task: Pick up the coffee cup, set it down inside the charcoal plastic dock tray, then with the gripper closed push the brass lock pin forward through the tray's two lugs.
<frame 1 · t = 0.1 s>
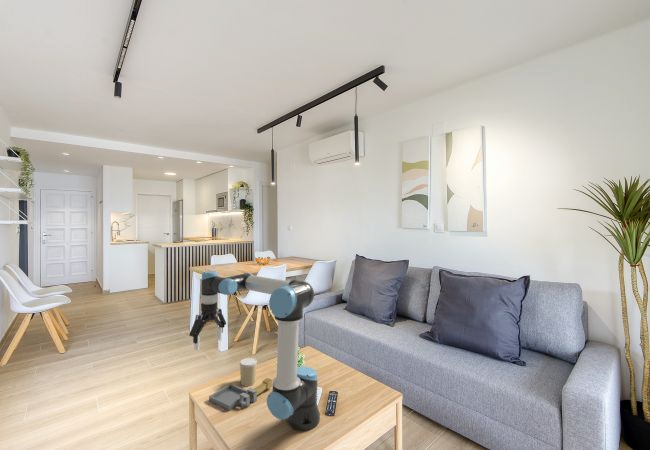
hand: (208, 344, 153), 28 cm above the table, fingers open, 13 cm apart
coffee cup: (248, 382, 170), on the table
lock pin: (260, 388, 160), point 3 cm above the table, slide at 0.0 cm
dock tray: (229, 398, 155), on the table
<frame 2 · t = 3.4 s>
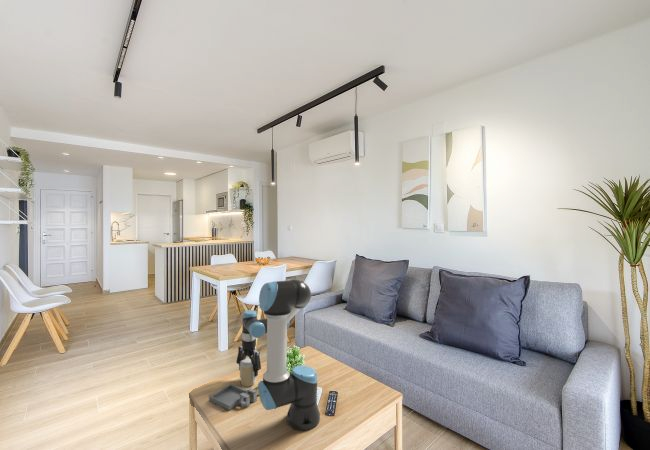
hand: (248, 379, 170), 2 cm above the table, fingers closed on coffee cup, 9 cm apart
coffee cup: (248, 382, 170), on the table, touching gripper
everything else where it was.
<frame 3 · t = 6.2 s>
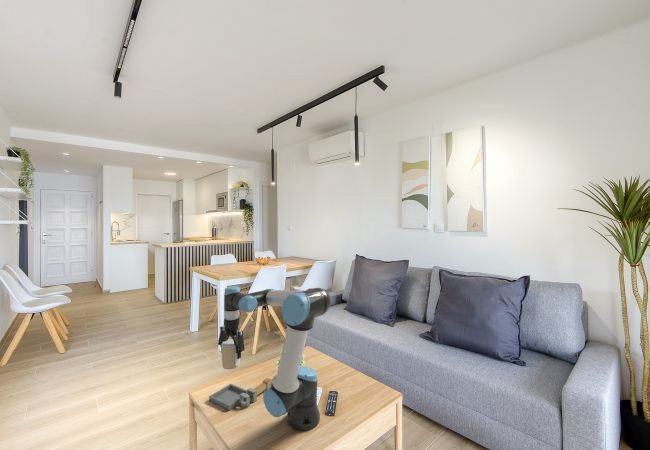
hand: (230, 361, 154), 19 cm above the table, fingers closed on coffee cup, 9 cm apart
coffee cup: (230, 366, 154), point 17 cm above the table, touching gripper
everything else where it was.
when the fingers open (5 cm above the table, at t = 9.2 s): coffee cup drops 2 cm, resting on dock tray.
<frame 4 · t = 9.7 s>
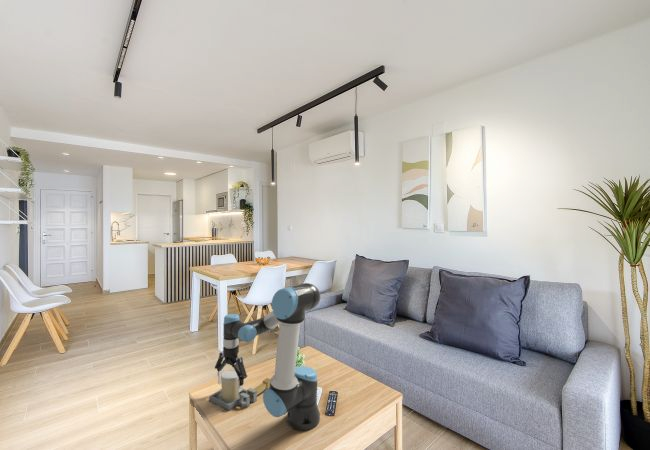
hand: (230, 387, 155), 6 cm above the table, fingers open, 13 cm apart
coffee cup: (230, 398, 155), resting on dock tray
everything else where it was.
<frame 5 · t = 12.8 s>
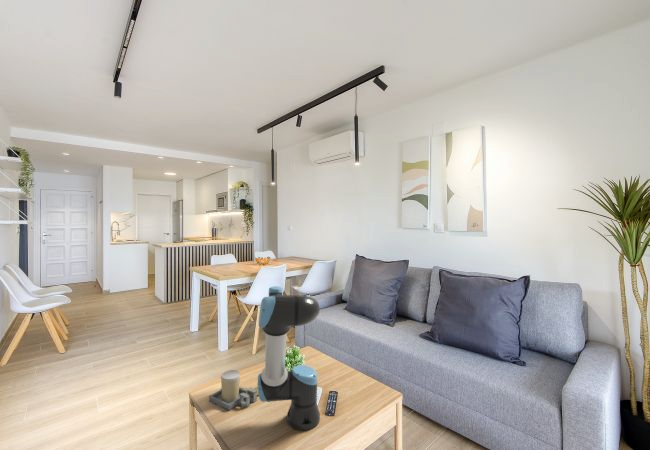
hand: (273, 356, 170), 15 cm above the table, fingers closed
nothing on the table moved.
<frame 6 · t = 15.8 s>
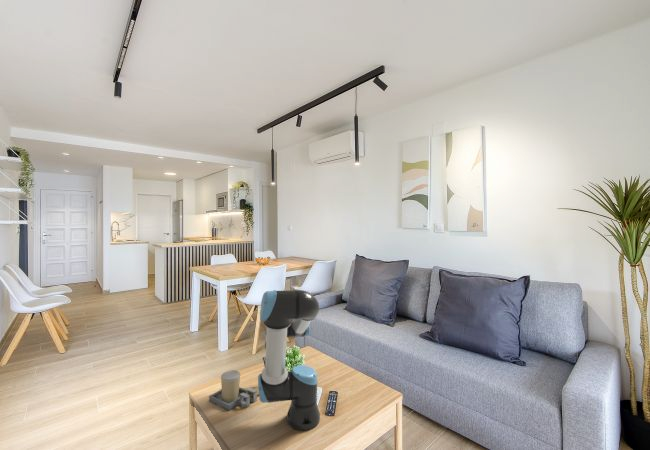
hand: (271, 383, 167), 1 cm above the table, fingers closed
lock pin: (260, 388, 159), point 3 cm above the table, slide at 0.2 cm, touching gripper
everything else where it was.
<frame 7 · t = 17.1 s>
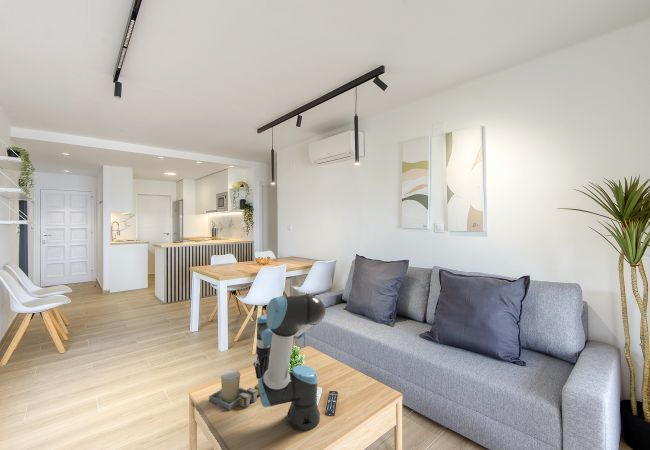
hand: (262, 389, 161), 1 cm above the table, fingers closed
lock pin: (252, 394, 154), point 3 cm above the table, slide at 6.2 cm, touching gripper
everything else where it was.
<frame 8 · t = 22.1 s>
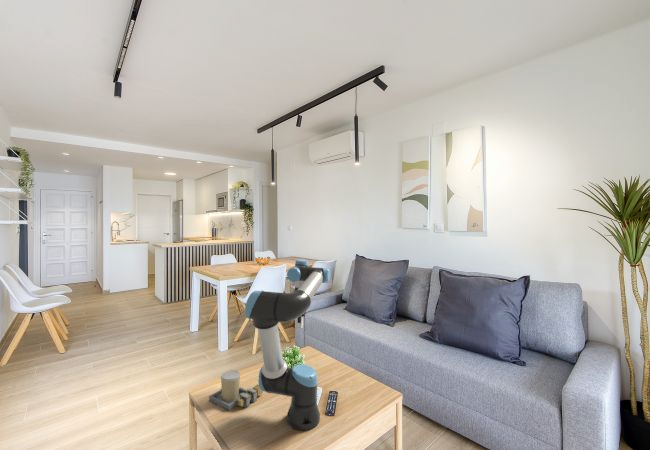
hand: (300, 327, 175), 29 cm above the table, fingers closed
lock pin: (250, 395, 153), point 3 cm above the table, slide at 7.5 cm
everything else where it was.
at the end: coffee cup inside the target area on the dock tray (0.2 cm from its centre), point 0.4 cm above the dock tray's base; coffee cup tilted 0°; lock pin slide at 7.5 cm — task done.
